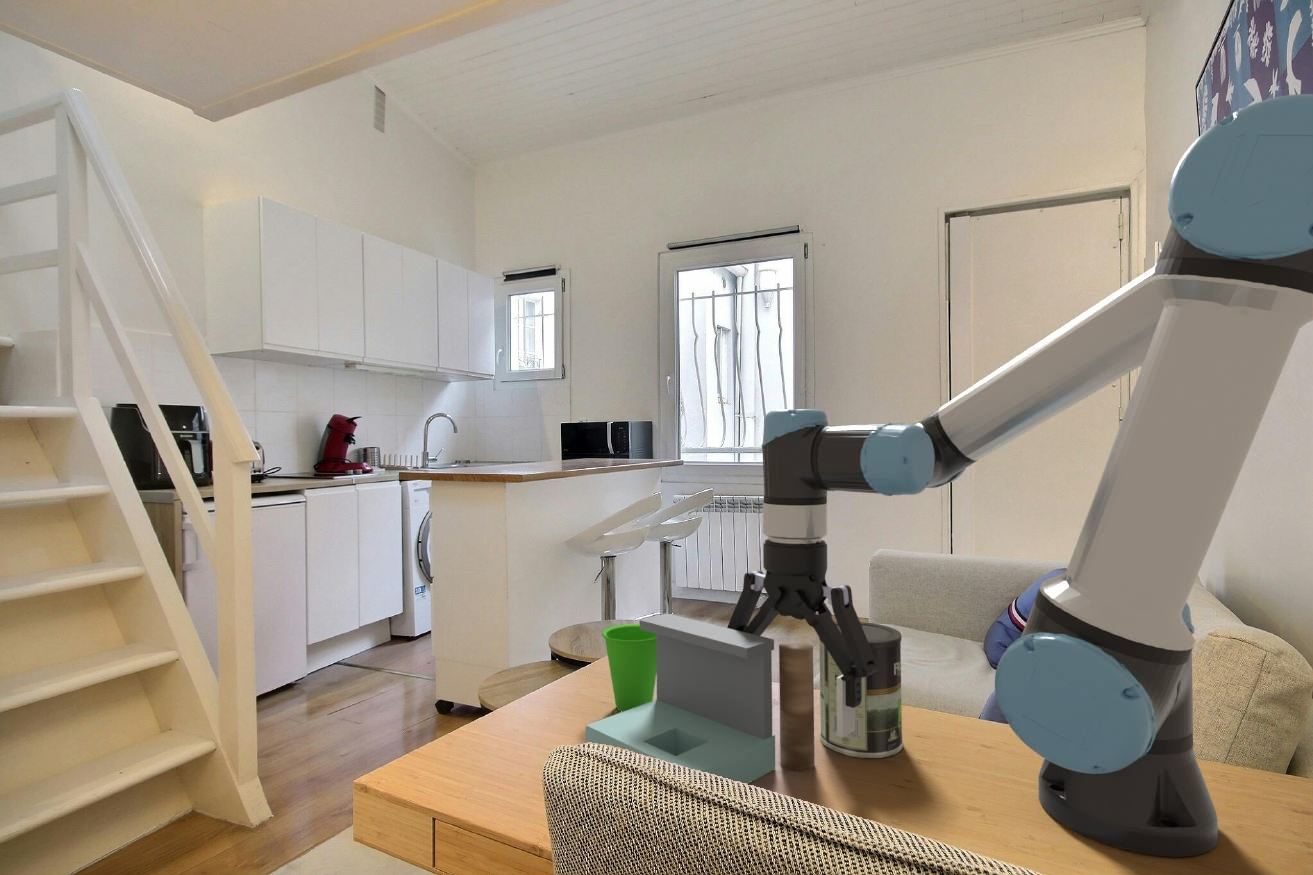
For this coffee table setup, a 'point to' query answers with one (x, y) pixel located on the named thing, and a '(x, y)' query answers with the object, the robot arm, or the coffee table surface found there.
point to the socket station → (702, 702)
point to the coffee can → (866, 699)
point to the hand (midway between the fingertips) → (795, 716)
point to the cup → (631, 664)
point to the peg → (796, 706)
